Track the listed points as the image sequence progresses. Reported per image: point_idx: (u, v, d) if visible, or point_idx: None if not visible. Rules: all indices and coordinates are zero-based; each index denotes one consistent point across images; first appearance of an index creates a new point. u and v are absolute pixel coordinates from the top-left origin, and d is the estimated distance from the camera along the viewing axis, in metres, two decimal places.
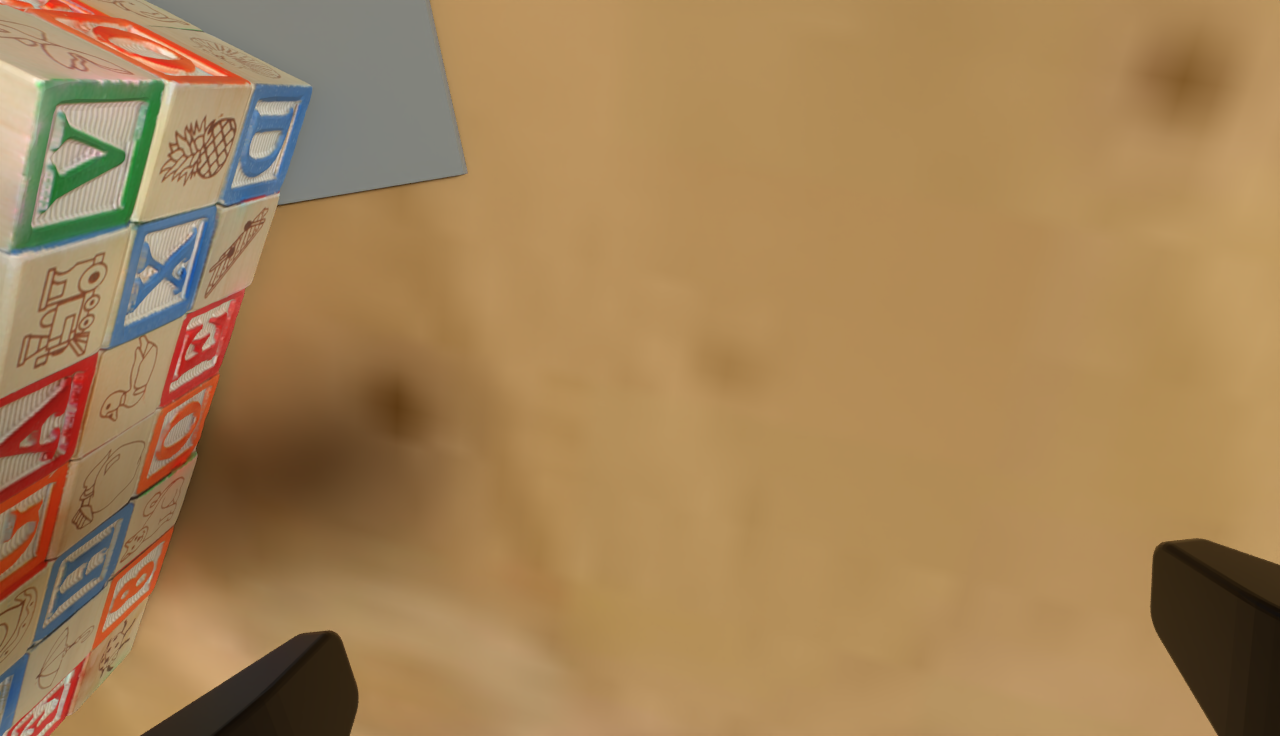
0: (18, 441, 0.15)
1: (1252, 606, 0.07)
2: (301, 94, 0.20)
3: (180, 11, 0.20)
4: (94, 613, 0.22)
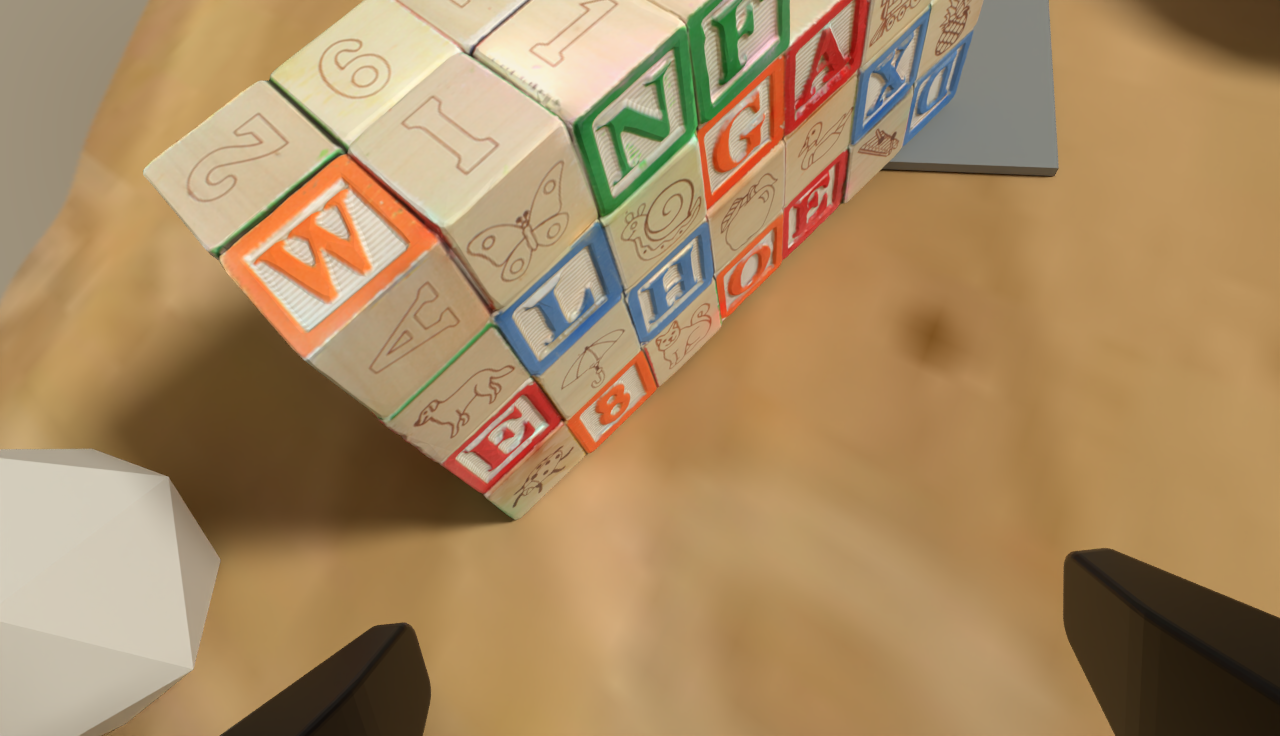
0: (828, 47, 0.19)
1: (1142, 617, 0.07)
2: (953, 88, 0.27)
3: None
4: (618, 363, 0.21)
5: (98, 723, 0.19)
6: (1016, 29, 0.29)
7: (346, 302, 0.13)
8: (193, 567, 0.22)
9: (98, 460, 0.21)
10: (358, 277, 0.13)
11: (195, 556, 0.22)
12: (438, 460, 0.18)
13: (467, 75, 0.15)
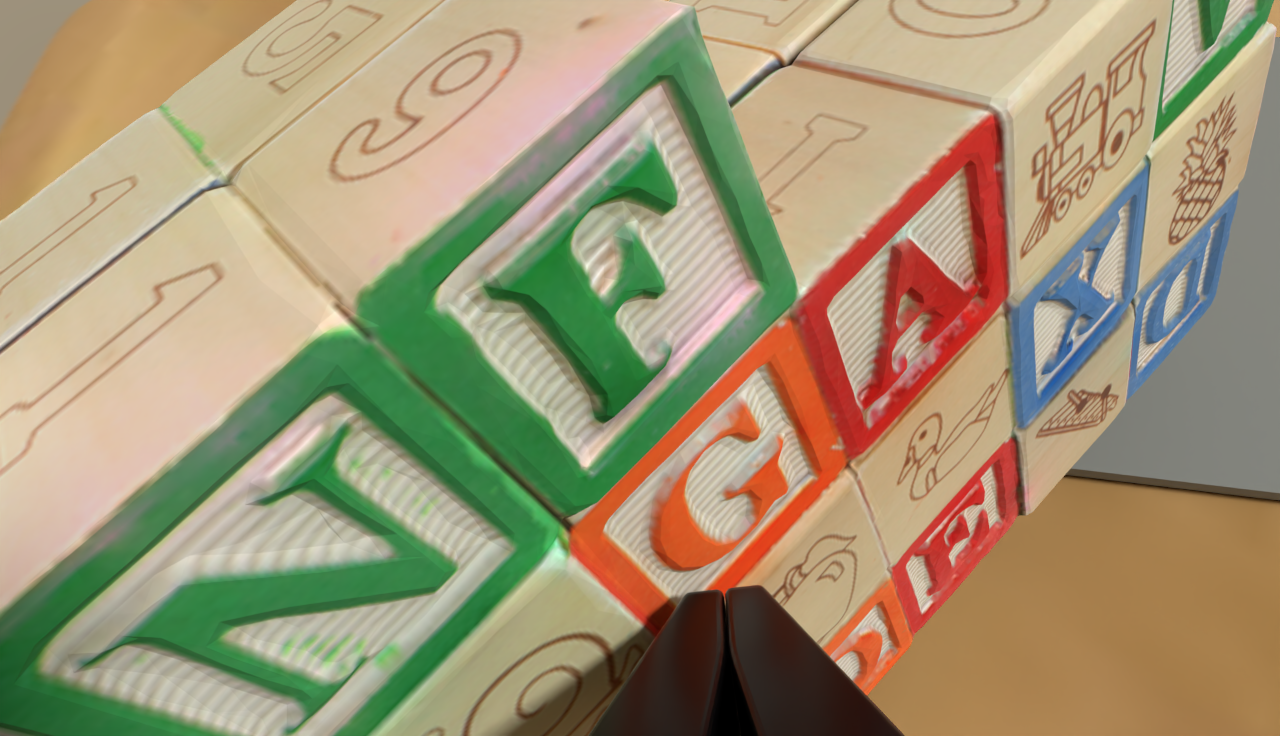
0: (915, 278, 0.08)
1: None
2: (1211, 289, 0.15)
3: None
4: None
5: None
6: (1269, 233, 0.18)
7: None
8: None
9: None
10: None
11: None
12: None
13: None
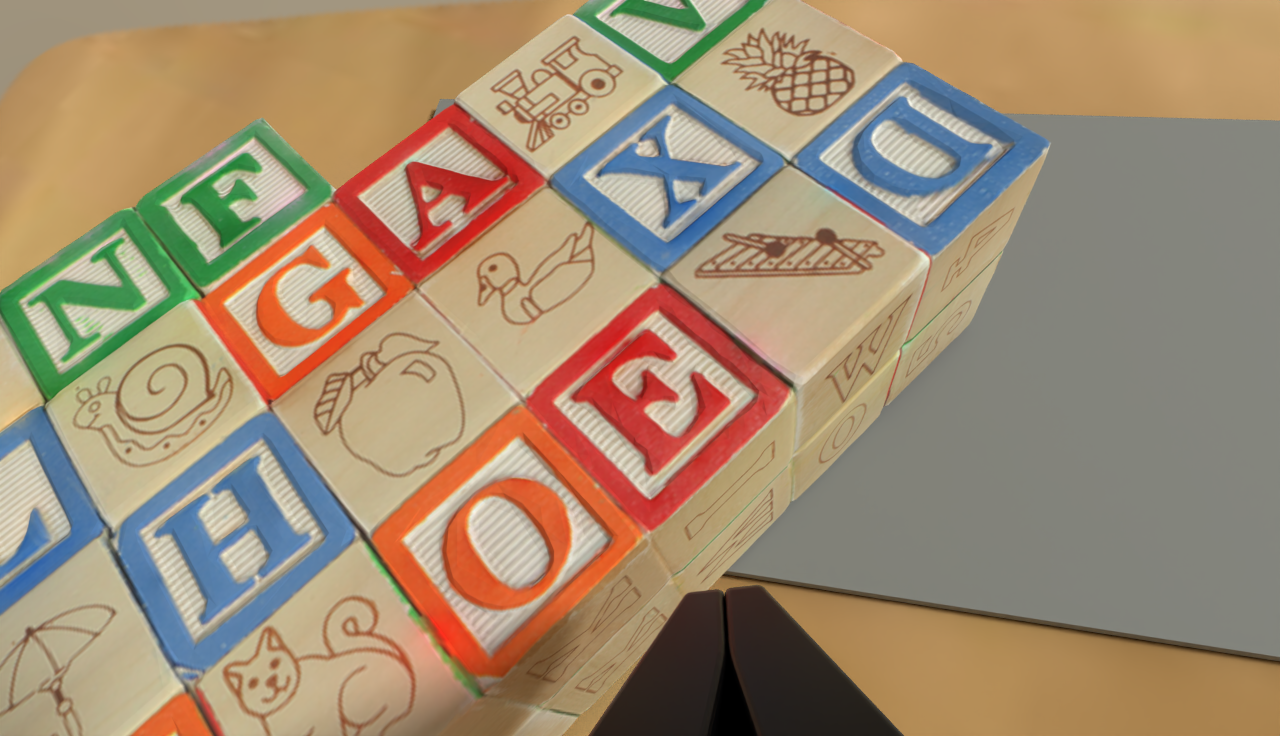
0: (426, 175, 0.14)
1: None
2: (1016, 134, 0.13)
3: (1066, 382, 0.17)
4: (113, 703, 0.11)
5: None
6: None
7: None
8: None
9: None
10: None
11: None
12: None
13: None
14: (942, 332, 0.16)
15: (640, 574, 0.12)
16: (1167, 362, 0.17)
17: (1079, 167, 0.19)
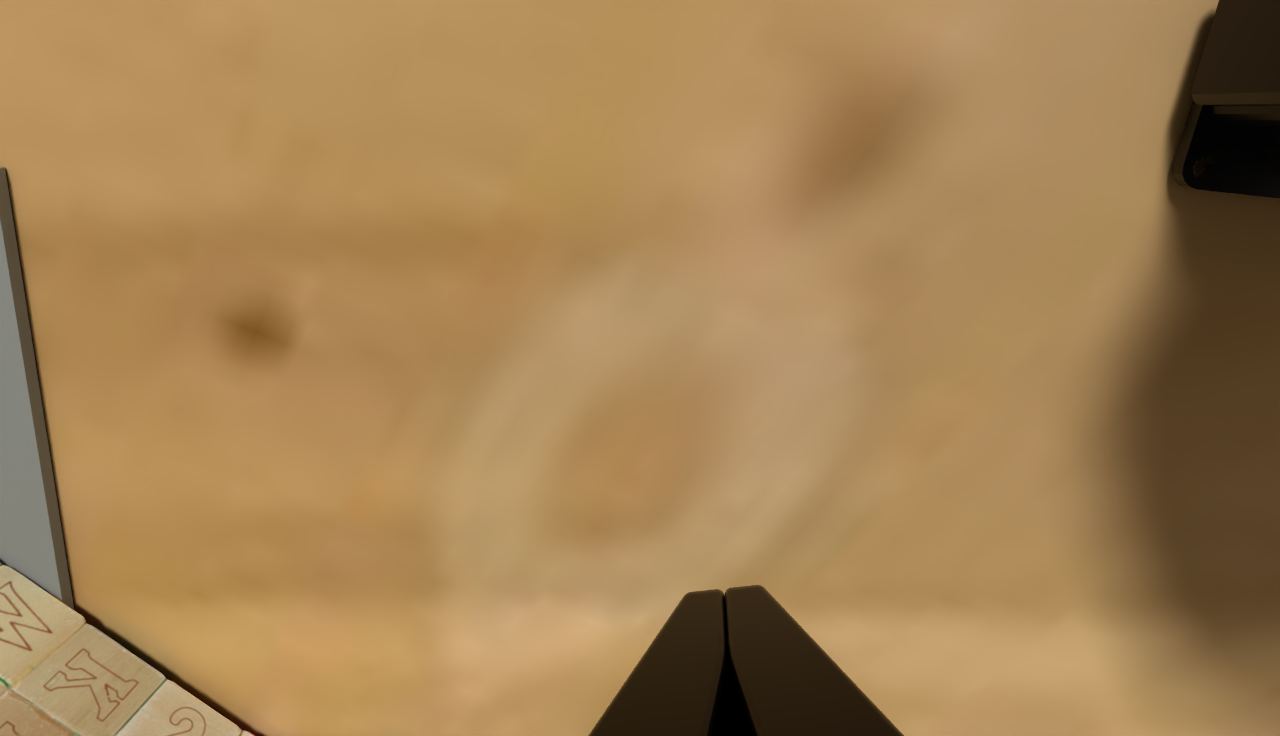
0: None
1: None
2: None
3: None
4: None
5: None
6: None
7: None
8: None
9: None
10: None
11: None
12: None
13: None
14: None
15: None
16: None
17: None
